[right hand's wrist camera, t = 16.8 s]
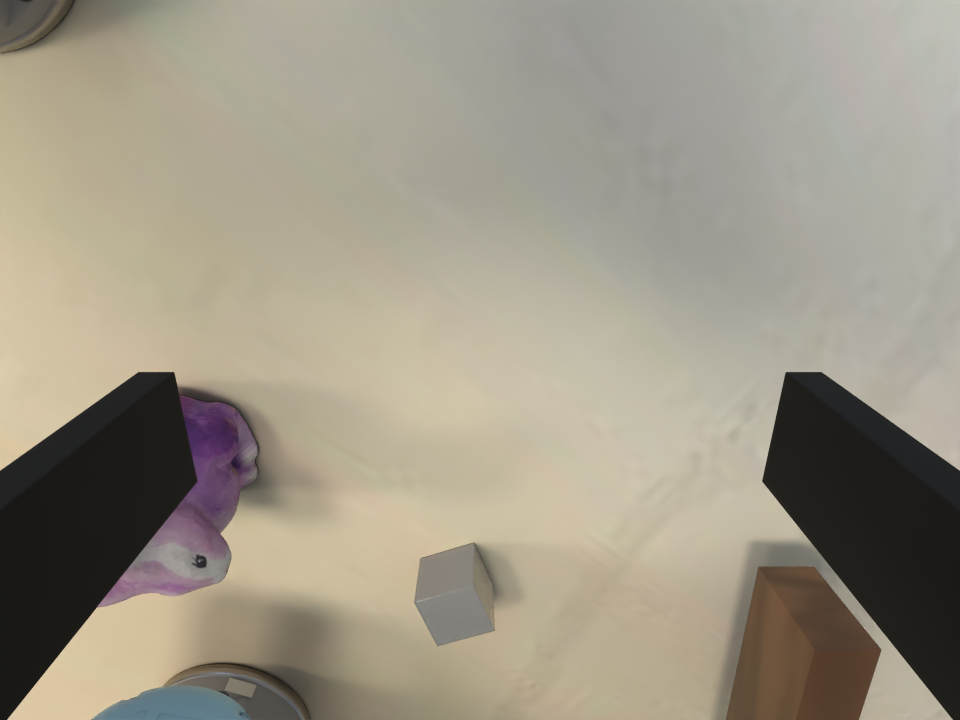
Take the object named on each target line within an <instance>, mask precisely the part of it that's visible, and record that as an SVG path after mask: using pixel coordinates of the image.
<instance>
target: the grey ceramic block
mask: <svg viewBox="0 0 960 720" xmlns="http://www.w3.org/2000/svg"><path fill="white" fill-rule="evenodd" d="M414 603H415V605H416V607H417V609H418V610H419V612H420V614H421V616H422V618H423V620H424V622H425V624H426V626H427V628H428V629H429V631H430V633H431V635H432V637H433V639H434V641H435V643H436V645H437V646H440V645H444V644H448V643H451V642H455V641H459V640H462V639H466V638H470V637H473V636H477V635H481V634H484V633H488V632H492V631H495V625H494V591H493V583H492V581H491V579H490V577H489V575H488V572H487V570H486V568H485V566H484V564H483V562H482V559H481V557H480V555H479V553H478V551H477V548H476V546H475V544H474V543H472V544H468V545H465V546H462V547H458V548H455V549H451V550H448V551H445V552H441V553H438V554H435V555H431V556H428V557H424V558H421V559H420V564H419V572H418V579H417V586H416V593H415V600H414Z"/></svg>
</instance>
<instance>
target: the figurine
mask: <svg viewBox="0 0 960 720" xmlns="http://www.w3.org/2000/svg"><path fill="white" fill-rule="evenodd" d="M179 397H180V401H181V406H182V411H183V415H184V420H185V425H186V429H187V434H188V439H189V443H190V448H191V452H192V457H193V462H194V466H195V471H196V476H197V480H198V482H197V483H196V484H195V485H194V487H193V488H192V489H191V490H190V492H189V493H188V494H187V495H186V497H185V498H184V499H183V500H182V502H181V503H180V504H179V505H178V507H177V508H176V509H175V510H174V512H173V513H172V514H171V515H170V517H169V518H168V519H167V520H166V522H165V523H164V524H163V525H162V527H161V528H160V529H159V530H158V532H157V533H156V534H155V535H154V537H153V538H152V539H151V540H150V542H149V543H148V544H147V545H146V547H145V548H144V549H143V550H142V552H141V553H140V554H139V555H138V557H137V558H136V559H135V560H134V562H133V563H132V564H131V565H130V567H129V568H128V569H127V570H126V572H125V573H124V574H123V575H122V577H121V578H120V579H119V580H118V582H117V583H116V584H115V585H114V587H113V588H112V589H111V590H110V592H109V593H108V594H107V595H106V597H105V598H104V599H103V600H102V602H101V603H100V604H99V605H98V607H102V606H109V605H112V604H115V603H118V602H121V601H124V600H126V599H128V598H131V597H133V596H136V595H140V594H145V593H158V594H162V595H166V596H179V595H183V594H185V593H188V592H191V591H193V590H196V589H199V588H203V587H206V586H210V585H213V584H217V583H219V582H221V581H222V580H223V579H224V578H225V576H226V574H227V572H228V568H229V565H230V562H231V551H230V549H229V546H228V544H227V542H226V541H225V539H224V538H223V537H222V536H221V534H220V533H221V532H222V531H223V530H224V529H225V527H226V526H227V525H228V524H229V522H230V521H231V520H232V518H233V516H234V514H235V512H236V509H237V505H238V501H239V493H240V489H242V488H243V487H245V486H247V485H248V484H250V483H252V482H253V481H254V480H255V479H256V478H257V474H258V470H257V468H256V464H255V461H254V460H255V458H256V456H257V454H258V446H257V445H256V441H255V439H254V437H253V436H252V433H251V432H250V430H249V428H248V426H247V424H246V422H245V421H244V420H243V418H242V417H241V416H240V414H239V412H238V411H237V410H236V409H235V408H233V407H231V406H230V405H229V404H225V403H219V402H212V403H210V402H205V401H200V400H196V399H193V398H190V397H186V396H182V395H179Z"/></svg>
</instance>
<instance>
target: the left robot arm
mask: <svg viewBox="0 0 960 720" xmlns="http://www.w3.org/2000/svg"><path fill="white" fill-rule="evenodd" d="M92 720H310V718H309V714H308V712H307V709H306V707H305V705H304V704H303V702H302V701H301V699H300V698H299V697H298V696H297V695H296V693H295V692H294V691H292V690H291V689H290V688H289V687H288V686H286V685H285V684H284V683H282V682H281V681H279V680H278V679H276V678H274V677H272V676H270V675H268V674H266V673H263V672H261V671H258V670H255V669H251V668H247V667H243V666H237V665H227V664H214V665H204V666H199V667H195V668H191V669H188V670H186V671H183V672H181V673H179V674H177V675H176V676H174V677H173V678H171V679H170V680H169V681H168V682H167V683H166V684H165V685H164V686H163V687H160V688H155V689H151V690H148V691H144V692H142V693H140V694H139V696H137V697H134V698H131V699H129V700H122V701H120V702H117V703H115V704H114V705H112V706H110V707H109V708H107V709H105V710H104V711H102V712H101V713H99V714H98V715H97V716H95V717H94V718H93V719H92Z"/></svg>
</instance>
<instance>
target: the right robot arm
mask: <svg viewBox="0 0 960 720" xmlns="http://www.w3.org/2000/svg"><path fill="white" fill-rule="evenodd" d="M72 2H73V0H0V53H1V52H7V51H13V50H16V49H19V48H23V47H25V46H27V45H30V44H32V43H34V42H36V41H37V40H39V39H41V38H42V37H44V36H45V35H46V34H47V33H49V32H50V31H51V30H52V29H53V28H54V27H55V26H56V25H57V24H58V23H59V22H60V21H61V20H62V18H63V17H64V15H65V14H66V13H67V11H68V9H69V8H70V6H71V4H72ZM197 482H198V480H197V476H196V471H195V466H194V462H193V457H192V452H191V448H190V443H189V439H188V434H187V429H186V425H185V420H184V415H183V411H182V406H181V401H180V397H179V392H178V388H177V383H176V378H175V374H174V372H138V373H137V374H135V375H134V376H133V377H131V378H130V379H128V380H127V381H126V382H124V383H123V384H121V385H120V386H119V387H117V388H116V389H114V390H113V391H111V392H110V393H109V394H107V395H106V396H104V397H103V398H102V399H100V400H99V401H97V402H96V403H95V404H93V405H92V406H90V407H89V408H88V409H86V410H85V411H83V412H82V413H81V414H79V415H78V416H76V417H75V418H74V419H72V420H71V421H69V422H68V423H67V424H65V425H64V426H62V427H61V428H60V429H58V430H57V431H55V432H54V433H53V434H51V435H50V436H48V437H47V438H46V439H44V440H43V441H41V442H40V443H39V444H37V445H36V446H34V447H33V448H32V449H30V450H29V451H27V452H26V453H25V454H23V455H22V456H20V457H19V458H18V459H16V460H15V461H13V462H12V463H11V464H9V465H8V466H6V467H5V468H4V469H2V470H1V471H0V720H7V719H8V718H9V717H10V715H11V714H12V713H13V712H14V710H15V709H16V708H17V707H18V705H19V704H20V703H21V702H22V700H23V699H24V698H25V697H26V695H27V694H28V693H29V692H30V690H31V689H32V688H33V687H34V685H35V684H36V683H37V682H38V680H39V679H40V678H41V677H42V675H43V674H44V673H45V672H46V670H47V669H48V668H49V667H50V665H51V664H52V663H53V662H54V660H55V659H56V658H57V657H58V655H59V654H60V653H61V652H62V650H63V649H64V648H65V647H66V645H67V644H68V643H69V642H70V640H71V639H72V638H73V637H74V635H75V634H76V633H77V632H78V630H79V629H80V628H81V627H82V625H83V624H84V623H85V622H86V620H87V619H88V618H89V617H90V615H91V614H92V613H93V612H94V610H95V609H96V608H97V607H98V605H99V604H100V603H101V602H102V600H103V599H104V598H105V597H106V595H107V594H108V593H109V592H110V590H111V589H112V588H113V587H114V585H115V584H116V583H117V582H118V580H119V579H120V578H121V577H122V575H123V574H124V573H125V572H126V570H127V569H128V568H129V567H130V565H131V564H132V563H133V562H134V560H135V559H136V558H137V557H138V555H139V554H140V553H141V552H142V550H143V549H144V548H145V547H146V545H147V544H148V543H149V542H150V540H151V539H152V538H153V537H154V535H155V534H156V533H157V532H158V530H159V529H160V528H161V527H162V525H163V524H164V523H165V522H166V520H167V519H168V518H169V517H170V515H171V514H172V513H173V512H174V510H175V509H176V508H177V507H178V505H179V504H180V503H181V502H182V500H183V499H184V498H185V497H186V495H187V494H188V493H189V492H190V490H191V489H192V488H193V487H194V485H195V484H196V483H197ZM762 482H763V483H764V484H765V485H766V487H767V488H768V489H769V490H770V492H771V493H772V494H773V495H774V497H775V498H776V499H777V500H778V502H779V503H780V504H781V505H782V507H783V508H784V509H785V510H786V512H787V513H788V514H789V515H790V517H791V518H792V519H793V520H794V522H795V523H796V524H797V525H798V527H799V528H800V529H801V530H802V532H803V533H804V534H805V535H806V537H807V538H808V539H809V540H810V542H811V543H812V544H813V545H814V547H815V548H816V549H817V550H818V552H819V553H820V554H821V555H822V557H823V558H824V559H825V560H826V562H827V563H828V564H829V565H830V567H831V568H832V569H833V570H834V572H835V573H836V574H837V575H838V577H839V578H840V579H841V580H842V582H843V583H844V584H845V585H846V587H847V588H848V589H849V590H850V592H851V593H852V594H853V595H854V597H855V598H856V599H857V600H858V602H859V603H860V604H861V605H862V607H863V608H864V609H865V610H866V612H867V613H868V614H869V615H870V617H871V618H872V619H873V620H874V622H875V623H876V624H877V625H878V627H879V628H880V629H881V630H882V632H883V633H884V634H885V635H886V637H887V638H888V639H889V640H890V642H891V643H892V644H893V645H894V647H895V648H896V649H897V650H898V652H899V653H900V654H901V655H902V657H903V658H904V659H905V660H906V662H907V663H908V664H909V665H910V667H911V668H912V669H913V670H914V672H915V673H916V674H917V675H918V677H919V678H920V679H921V680H922V682H923V683H924V684H925V685H926V687H927V688H928V689H929V690H930V692H931V693H932V694H933V695H934V697H935V698H936V699H937V700H938V702H939V703H940V704H941V705H942V707H943V708H944V709H945V710H946V712H947V713H948V714H949V715H950V717H951V718H952V719H953V720H960V471H959V470H958V469H956V468H955V467H954V466H952V465H951V464H949V463H948V462H947V461H945V460H944V459H942V458H941V457H940V456H938V455H937V454H935V453H934V452H933V451H931V450H930V449H928V448H927V447H926V446H924V445H923V444H921V443H920V442H919V441H917V440H916V439H914V438H913V437H912V436H910V435H909V434H907V433H906V432H905V431H903V430H902V429H900V428H899V427H898V426H896V425H895V424H893V423H892V422H891V421H889V420H888V419H886V418H885V417H884V416H882V415H881V414H879V413H878V412H877V411H875V410H874V409H872V408H871V407H870V406H868V405H867V404H865V403H864V402H863V401H861V400H860V399H858V398H857V397H856V396H854V395H853V394H851V393H850V392H849V391H847V390H846V389H844V388H843V387H841V386H840V385H839V384H837V383H836V382H834V381H833V380H832V379H830V378H829V377H827V376H826V375H825V374H823V373H822V372H786V374H785V378H784V383H783V388H782V392H781V397H780V401H779V406H778V411H777V415H776V420H775V425H774V429H773V434H772V439H771V443H770V448H769V452H768V457H767V462H766V466H765V471H764V476H763V480H762Z"/></svg>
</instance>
